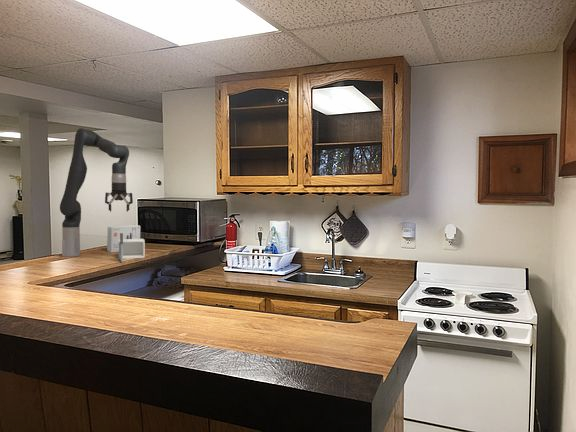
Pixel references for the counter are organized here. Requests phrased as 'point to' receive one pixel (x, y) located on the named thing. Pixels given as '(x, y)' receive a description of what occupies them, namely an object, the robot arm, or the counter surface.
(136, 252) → the carton
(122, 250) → the front flap
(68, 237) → the robot arm
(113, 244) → the skincare box
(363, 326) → the counter surface
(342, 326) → the counter surface
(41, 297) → the counter surface
